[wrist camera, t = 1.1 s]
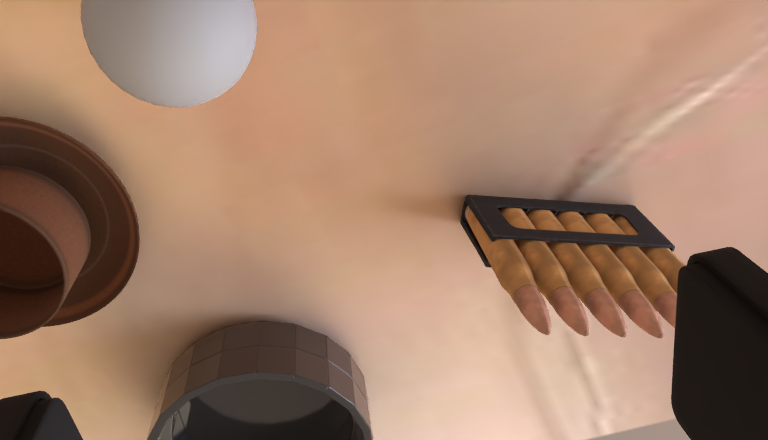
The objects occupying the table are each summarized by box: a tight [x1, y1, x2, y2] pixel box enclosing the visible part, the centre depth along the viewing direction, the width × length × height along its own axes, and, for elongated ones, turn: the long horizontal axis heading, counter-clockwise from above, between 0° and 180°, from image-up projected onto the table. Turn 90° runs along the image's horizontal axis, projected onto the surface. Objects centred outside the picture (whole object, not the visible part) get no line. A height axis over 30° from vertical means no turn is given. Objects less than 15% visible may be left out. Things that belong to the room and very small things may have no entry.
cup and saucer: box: [0, 117, 140, 339], centre depth 32 cm, size 12×12×6 cm
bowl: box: [147, 321, 373, 440], centre depth 40 cm, size 13×13×6 cm
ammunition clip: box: [460, 195, 686, 338], centre depth 33 cm, size 11×2×12 cm, turn 83°
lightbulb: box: [81, 0, 257, 107], centre depth 26 cm, size 6×6×11 cm
